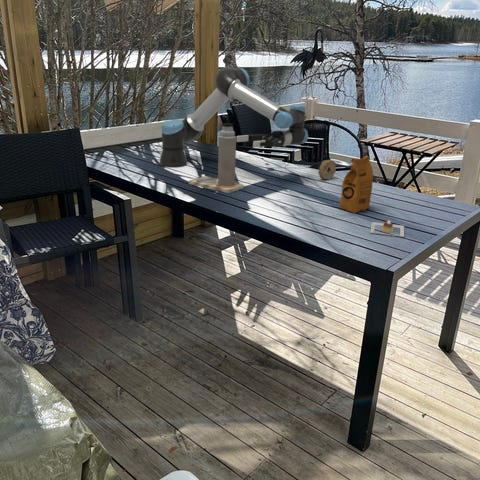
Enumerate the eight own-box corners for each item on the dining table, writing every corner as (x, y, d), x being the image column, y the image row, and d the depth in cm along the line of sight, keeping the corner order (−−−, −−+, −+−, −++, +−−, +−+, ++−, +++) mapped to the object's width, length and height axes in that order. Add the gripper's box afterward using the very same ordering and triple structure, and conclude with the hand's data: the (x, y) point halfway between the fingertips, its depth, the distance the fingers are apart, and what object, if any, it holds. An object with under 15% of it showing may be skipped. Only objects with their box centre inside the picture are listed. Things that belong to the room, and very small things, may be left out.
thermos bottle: (222, 180, 238) (223, 121, 227) (237, 183, 235) (239, 123, 224) (215, 184, 231) (215, 124, 220) (230, 187, 228) (231, 125, 217)
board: (188, 183, 238) (188, 180, 238) (204, 178, 248) (204, 175, 247) (228, 193, 226) (228, 189, 225) (243, 187, 235) (243, 183, 234)
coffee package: (335, 208, 210) (341, 156, 201) (353, 202, 217) (359, 153, 209) (354, 214, 203) (361, 161, 194) (372, 208, 210) (379, 157, 202)
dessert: (371, 224, 193) (373, 213, 191) (403, 228, 190) (405, 216, 188) (369, 235, 183) (371, 223, 181) (403, 239, 179) (405, 227, 178)
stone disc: (330, 176, 258) (332, 157, 254) (335, 178, 255) (337, 159, 252) (316, 179, 252) (318, 160, 248) (321, 181, 249) (323, 161, 246)
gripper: (296, 150, 234) (260, 155, 223) (264, 141, 253) (230, 144, 242) (297, 135, 231) (261, 138, 220) (265, 126, 250) (230, 129, 239)
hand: (245, 141), depth 231 cm, fingers open, 13 cm apart
